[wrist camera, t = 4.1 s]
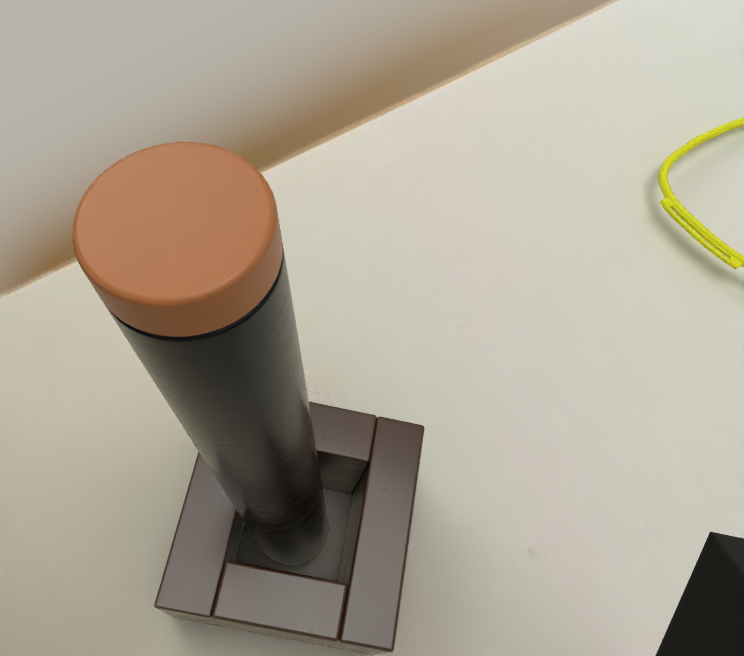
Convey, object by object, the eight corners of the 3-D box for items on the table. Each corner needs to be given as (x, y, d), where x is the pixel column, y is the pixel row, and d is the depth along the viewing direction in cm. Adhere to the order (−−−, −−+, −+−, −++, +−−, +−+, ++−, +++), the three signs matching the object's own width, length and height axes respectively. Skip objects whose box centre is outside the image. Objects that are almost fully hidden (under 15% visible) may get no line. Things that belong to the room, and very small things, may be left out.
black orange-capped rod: (252, 563, 22) (37, 286, 7) (269, 494, 23) (110, 127, 8) (322, 575, 21) (248, 318, 7) (335, 505, 22) (295, 152, 8)
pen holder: (172, 617, 20) (153, 607, 17) (225, 425, 23) (218, 381, 20) (371, 654, 21) (394, 653, 17) (400, 461, 23) (425, 424, 20)
